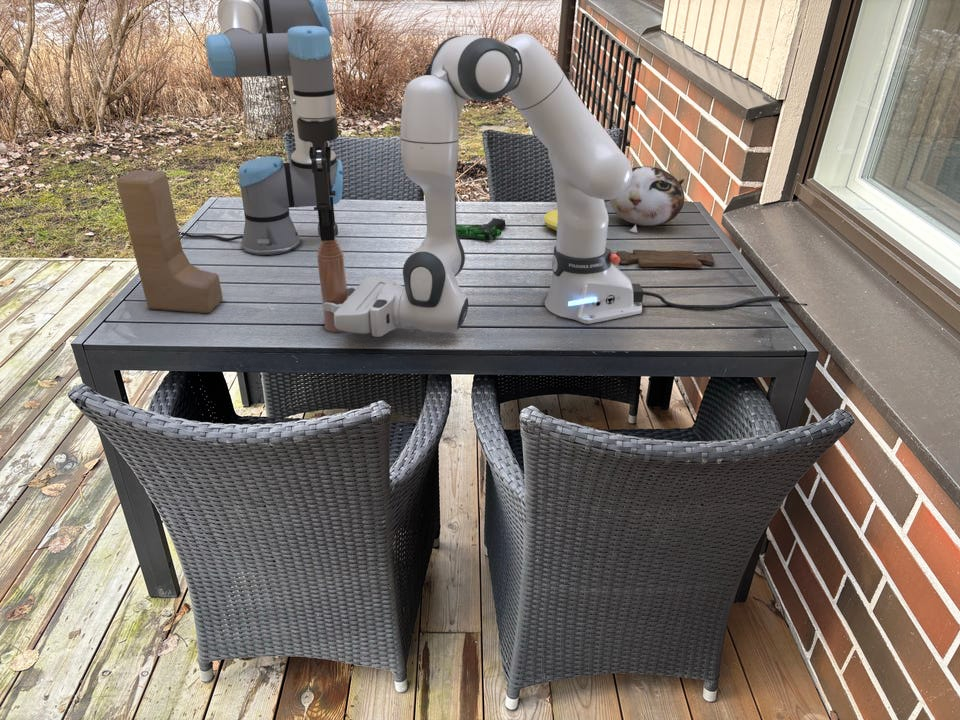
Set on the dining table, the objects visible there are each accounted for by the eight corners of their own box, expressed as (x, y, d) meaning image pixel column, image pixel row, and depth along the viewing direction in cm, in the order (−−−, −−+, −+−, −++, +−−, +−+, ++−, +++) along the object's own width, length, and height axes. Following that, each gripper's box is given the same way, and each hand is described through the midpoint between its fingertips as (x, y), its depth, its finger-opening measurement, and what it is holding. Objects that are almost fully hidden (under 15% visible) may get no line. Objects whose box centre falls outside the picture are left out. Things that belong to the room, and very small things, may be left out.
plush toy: (590, 213, 207) (612, 150, 209) (606, 237, 223) (627, 178, 224) (664, 227, 196) (687, 160, 198) (675, 250, 212) (697, 189, 214)
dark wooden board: (718, 270, 186) (709, 256, 195) (719, 264, 186) (710, 250, 194) (619, 267, 187) (614, 252, 195) (620, 261, 186) (615, 247, 194)
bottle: (344, 318, 160) (335, 220, 149) (354, 328, 156) (345, 228, 145) (321, 324, 158) (309, 224, 146) (330, 334, 154) (319, 233, 142)
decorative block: (209, 314, 161) (183, 183, 145) (146, 309, 162) (114, 179, 147) (224, 300, 167) (200, 172, 152) (163, 295, 169) (134, 168, 153)
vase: (559, 216, 220) (561, 193, 217) (605, 227, 212) (608, 204, 209) (532, 230, 209) (533, 207, 206) (580, 242, 201) (582, 218, 198)
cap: (314, 235, 146) (313, 225, 144) (327, 229, 149) (326, 219, 147) (329, 239, 144) (328, 228, 143) (342, 233, 147) (341, 223, 146)
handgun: (511, 219, 210) (493, 234, 198) (511, 228, 211) (492, 244, 199) (461, 212, 215) (440, 226, 203) (461, 221, 217) (440, 236, 204)
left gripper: (299, 107, 142) (312, 218, 154) (292, 129, 126) (307, 252, 138) (337, 106, 143) (347, 217, 155) (335, 128, 127) (346, 250, 139)
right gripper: (406, 272, 158) (348, 266, 161) (374, 313, 141) (309, 305, 144) (407, 298, 162) (350, 291, 164) (376, 341, 144) (312, 333, 147)
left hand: (328, 233), depth 146 cm, fingers open, 6 cm apart
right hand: (330, 298), depth 154 cm, fingers closed on bottle, 5 cm apart
